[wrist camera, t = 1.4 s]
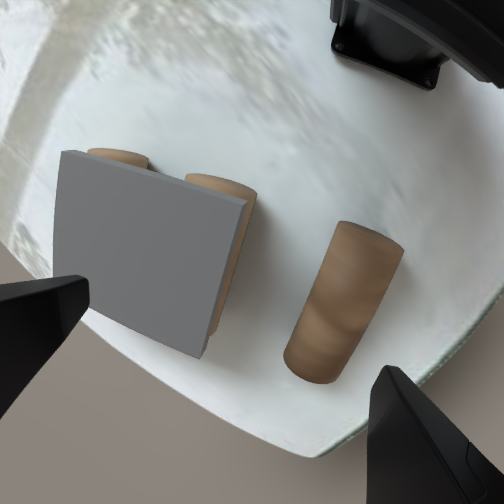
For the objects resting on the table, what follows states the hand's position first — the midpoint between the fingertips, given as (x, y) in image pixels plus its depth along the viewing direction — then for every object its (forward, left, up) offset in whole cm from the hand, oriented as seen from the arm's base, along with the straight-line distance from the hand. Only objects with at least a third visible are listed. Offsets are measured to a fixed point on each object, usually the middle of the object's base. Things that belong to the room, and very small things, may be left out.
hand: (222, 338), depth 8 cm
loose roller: (-5, +2, -10) cm, 11 cm away
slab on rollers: (+7, +2, -12) cm, 14 cm away
